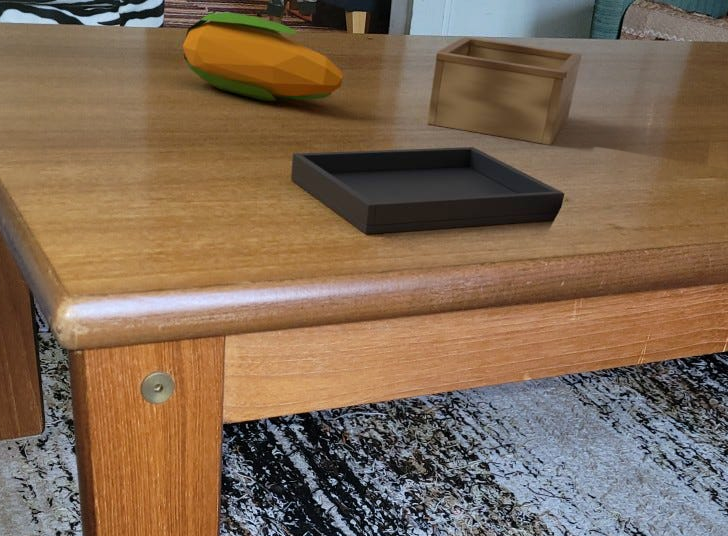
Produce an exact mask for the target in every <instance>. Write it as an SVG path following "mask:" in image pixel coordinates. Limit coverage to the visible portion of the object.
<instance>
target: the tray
mask: <svg viewBox="0 0 728 536" xmlns="http://www.w3.org/2000/svg"><path fill="white" fill-rule="evenodd" d="M290 175H291V176H290V180H291V182H293V183H294V184H296V185H297V186H299V187H300V188H301V189H303V190H304V191H305V192H307V193H308V194H309V195H311V196H313V197H314V198H315V199H317V200H318V201H319V202H321V203H322V204H323V205H325V206H326V207H327V208H329V209H330V210H332V211H333V212H335V214H337V215H338V216H340V217H342V218H343V219H344V220H346V221H347V222H348V223H349V224H351V225H352V226H353V227H355V228H356V229H358V230H359V231H361V232H362V233H363V234H365V235H373V234H374V235H375V234H387V233H402V232H415V231H426V230H427V231H428V230H429V231H430V230H441V229H443V230H444V229H456V228H467V227H468V228H469V227H481V226H494V225H509V224H521V223H522V224H523V223H536V222H548V221H549V222H551V221H555V220H556V218H557V216H558V214H559V212H560V211H561V209H562V206H563V202H564V198H565V192H564V191H562V190H559V189H558V188H555V187H553V186H551V185H549V184H547V183H545V182H543V181H542V180H540V179H538V178H535V177H533V176H531V175H529V174H528V173H525V172H523V171H521V170H520V169H518V168H515V167H513V166H512V165H510V164H508V163H505V162H503V161H502V160H499V159H497V158H496V157H494V156H492V155H490V154H488V153H486V152H484V151H481V150H479V149H478V148H476V147H474V146H465V147H463V146H461V147H437V148H435V147H433V148H407V149H406V148H405V149H381V150H379V149H378V150H377V149H376V150H356V151H355V150H352V151H351V150H350V151H324V152H321V151H320V152H302V153H301V152H300V153H299V152H298V153H297V152H296V153H292V161H291V174H290ZM455 227H456V228H455Z"/></svg>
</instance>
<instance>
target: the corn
mask: <svg viewBox="0 0 728 536" xmlns="http://www.w3.org/2000/svg"><path fill="white" fill-rule="evenodd" d="M281 33H283V34H288V35H293V34H294V35H295V34H297V33H298V31H297V30H295V29H293V28H291V27H289V26H287V25H285V24H283V23H280V22H276V21H273V20H268V19H265V18H261V17H258V16H253V15H247V14H240V13H233V12H220V13H219V12H218V13H208V14H207V15H205V16H204V17H202V18H201V19H200V20H198V21H197V22H195V23H194V24H192V25H191V26H189V27H188V28H187V31H186V35H185V38H184V39H185V40H184V42H183V45H182V49H183V50H182V51H183V58H184V61H185V62H186V64H187V65H188V67H189V68H190V70H191V71H192V72H193V73H195V74H196V75H197V76H198V77H199V78H200V79H201V80H203V81H205V82H206V83H208V84H210V85H212V86H213V87H215V88H217V89H218V90H220V91H224V92H228V93H232V94H236V95H239V96H243V97H247V98H252V99H255V100H259V101H262V102H276V101H277V99H276V98H275V97H278V98H279V97H280V98H285V99H292V100H299V101H304V100H308V101H309V100H319V99H326V98H328V97H330V96H331V95H332V93H333V92H335V91H336V90H338V89H339V88H341V87H342V83H343V78H344V74H343V73H342V71H341V70H340V68H339V67H338V66H337V65H336V64H334V62H332V60H330V59H329V58H328V57H327V56H325V55H323V54H321V53H319V52H317V51H315V50H313V49H311V48H309V47H306V46H304V45H302V44H300V43H298V42H296V41H294V40H291V39H290V38H287V37H285V36H284V35H282V34H281Z"/></svg>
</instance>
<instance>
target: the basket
mask: <svg viewBox="0 0 728 536" xmlns="http://www.w3.org/2000/svg"><path fill="white" fill-rule="evenodd" d="M582 55H583V54H582V53H578V52H573V51H572V52H571V51H564V50H558V49H552V48H551V49H550V48H544V47H537V46H532V45H531V46H530V45H524V44H517V43H511V42H504V41H497V40H491V39H484V38H478V37H477V38H476V37H471V36H464V37H462V38H459V39H458V40H456V41H454V42H453V43H451V44H449V45H447V46H446V47H444V48H442V49H440V50H438V52H436V55H435V64H434V72H433V79H432V86H431V87H432V88H431V93H430V100H429V109H428V114H427V121H426V123H427V125H432V126H437V127H443V128H448V129H453V130H454V129H455V130H461V131H466V132H472V133H476V134H477V133H478V134H482V135H483V134H484V135H489V136H496V137H501V138H508V139H514V140H518V141H524V142H530V143H535V144H536V143H537V144H542V145H547V146H550V145H551V144H552V142H553V141H554V140H555V138H556V137H557V136H558V134H559V132H561V130H562V129H563V127H564V126H565V124H566V123H567V121H568V119H569V115H570V110H571V105H572V100H573V95H574V92H575V91H574V90H575V87H576V83H577V79H578V78H577V77H578V73H579V68H580V64H581V60H582Z"/></svg>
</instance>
